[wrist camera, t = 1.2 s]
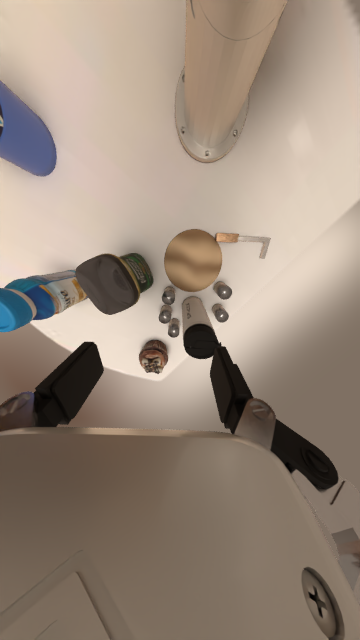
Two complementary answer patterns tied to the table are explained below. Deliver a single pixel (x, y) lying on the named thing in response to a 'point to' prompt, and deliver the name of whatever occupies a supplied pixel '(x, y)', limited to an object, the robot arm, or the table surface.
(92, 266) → the coffee jar
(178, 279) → the round wooden board
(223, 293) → the spacer field
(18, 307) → the beverage bottle
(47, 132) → the water bottle
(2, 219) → the table surface
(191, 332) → the travel mug
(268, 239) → the hook tool
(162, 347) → the cupcake
